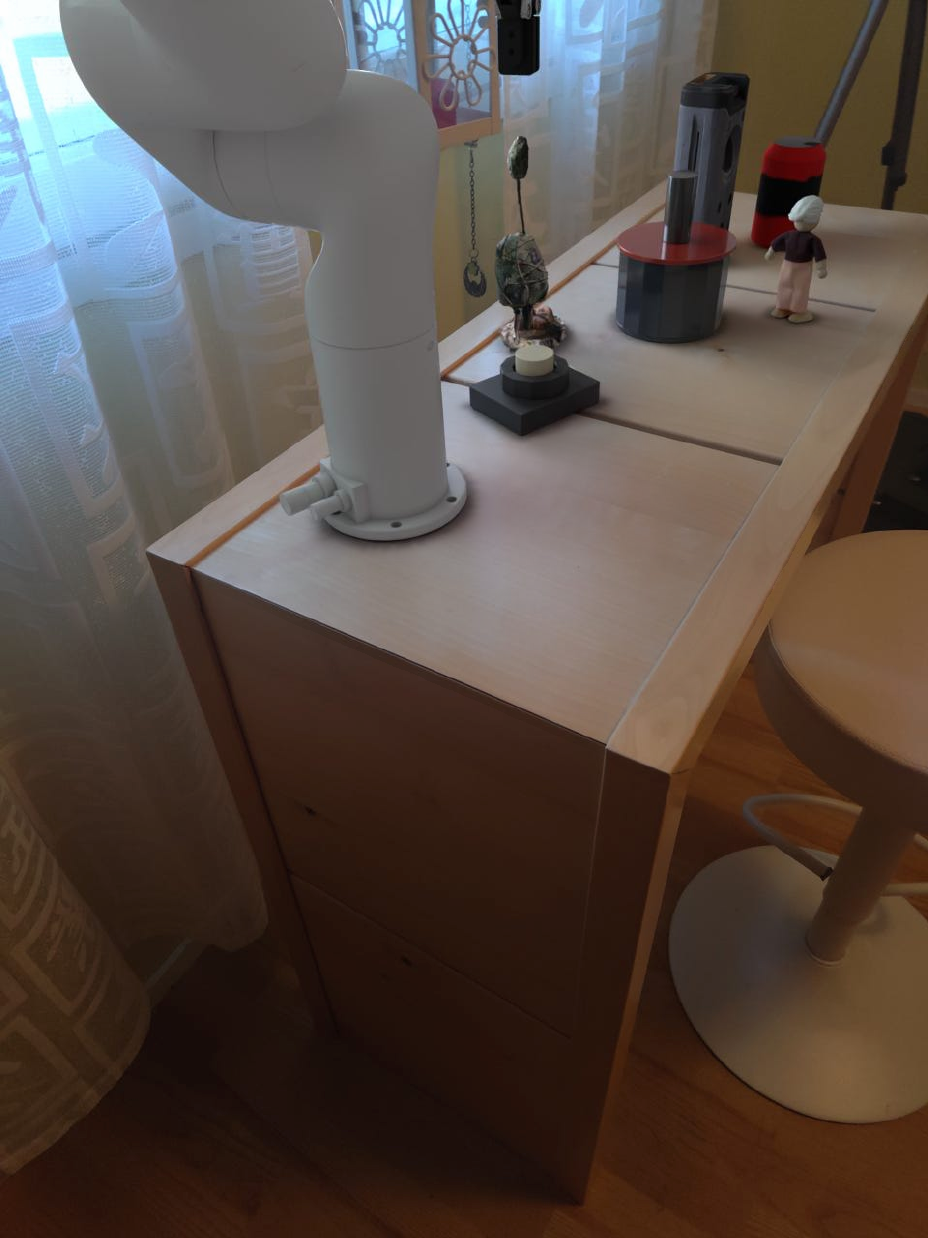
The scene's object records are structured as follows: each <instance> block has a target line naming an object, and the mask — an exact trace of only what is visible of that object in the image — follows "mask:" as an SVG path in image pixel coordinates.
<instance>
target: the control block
mask: <svg viewBox="0 0 928 1238" xmlns="http://www.w3.org/2000/svg"><path fill="white" fill-rule="evenodd" d="M468 393H469V394H468V395H469V407H471V408H472V409H474V410H476V411H478V413H481V414H483V415H485V416H486V417H488V418H489V419H491V420H493V421H495V422H496V423H498V424H500V425H502V426H503V427H506V428H507V429H508V430H510V431H511V432H514V433H515V434H516V435H518V436H521V437H523V436H524V435H527V434H529V433H532V432H534V431H536V430H538V429H541V428H543V427H545V426H548V425H551V424H552V423H554V422H557V421H559V420H562V419H564V418H566V417H569V416H571V415H573V414H575V413H578V412H580V411H583V410H585V409H587V408H590V407H592V406H594V405H596V404H599V403H600V394H601V381H600V380H598V379H595V378H593V377H591V376H589V375H587V374H585V373H583V372H581V371H579V370H577V369H575V368H573V367H571V366H570V365H569V363H568V361H567V359H566V358H564V357H562V356H559V355H557V354H556V353H554V357H553V371H552V372H551V373H549V374H546V375H543V376H533V377H532V376H525V375H521V374H519V373H517V372H516V354H514V355H511V356H508V357H506V358H505V359H504V360H503V361H502V363H501V364H500V365H499V373H498V374H495V375H493V376H490V377H488V378H484V379H483V380H480V381H478V382H476V383H473V384H470V385H468Z"/></svg>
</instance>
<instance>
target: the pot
mask: <svg viewBox="0 0 928 1238" xmlns="http://www.w3.org/2000/svg"><path fill="white" fill-rule="evenodd" d="M730 260H731V254H730V255H729V256H727V257H725V258H722V259H720V260H717V261H713V262H708V263H703V264H695V265H662V264H654V263H648V262H644V261H640V260H636V259H633V258H631V257H628V256H627V255H625V254H623V253H622V252H621V251H620V250H619V259H618V274H617V287H616V289H617V290H616V305H615V306H616V307H615V318H614V319H615V321H614V322H615V325H616V326H617V328H618V329H619V330H620V331H621V332H622V333H624V334H626V335H627V336H630V337H632V338H635V339H638V340H642V341H647V342H654V343H666V344H669V343H670V344H672V343H673V344H676V343H686V342H687V343H688V342H693V341H698V340H701V339H704V338H707V337H708V336H711V335H712V334H714V333H715V332H716V331H717V330H718V329H719V327H720V324H721V321H722V315H723V308H724V302H725V294H726V289H727V281H728V274H729V267H730V262H731V261H730Z"/></svg>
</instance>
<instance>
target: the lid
mask: <svg viewBox="0 0 928 1238" xmlns="http://www.w3.org/2000/svg"><path fill="white" fill-rule="evenodd" d="M697 182H698V173H697V172H694V171H690V170H677V171H673V170H672V171H671V172H669V173H668V175H667V184H666V185H667V186H666V196H665V206H664V217H663V219H664V220H663V221H662V220H660V221H652V222H646V223H643V224H637V225H635V226H631V227H629V228H627V229H625V230H624V231H621V233H619V234H618V236H617V238H616V247H617V249H618V251H619V252H620V251H621V252H622V253H623V254H625V255H627V256H628V257H631V258H633V259H636V260H640V261H644V262H648V263H654V264H662V265H695V264H703V263H708V262H713V261H717V260H720V259H722V258H725V257H727V256H729V255H730V256H731V255H732V254H733V253H734V252H735V251H736V249H737V247H738V239H737V237H736V236H735V234H734V233H733V232H731V231H729V230H728V231H727V230H725V229H723V228H721V227H718V226H714V225H710V224H705V223H699V222H693V217H694V208H695V200H696V191H697Z"/></svg>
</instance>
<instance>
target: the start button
mask: <svg viewBox="0 0 928 1238" xmlns="http://www.w3.org/2000/svg"><path fill="white" fill-rule="evenodd" d="M554 354H555V353H554V349H553V350H552V349H551V348H549V347H546V346H542V345H529V346H524V347H522V348H520V349H518V350H515V355H516V372H517V373H519V374H521V375H525V376H532V377H533V376H543V375H546V374H549V373H551V372H552V371H553V357H554Z"/></svg>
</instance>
